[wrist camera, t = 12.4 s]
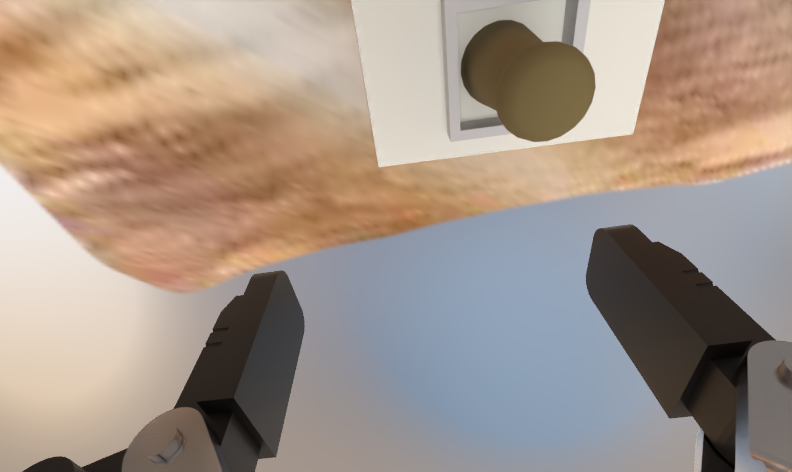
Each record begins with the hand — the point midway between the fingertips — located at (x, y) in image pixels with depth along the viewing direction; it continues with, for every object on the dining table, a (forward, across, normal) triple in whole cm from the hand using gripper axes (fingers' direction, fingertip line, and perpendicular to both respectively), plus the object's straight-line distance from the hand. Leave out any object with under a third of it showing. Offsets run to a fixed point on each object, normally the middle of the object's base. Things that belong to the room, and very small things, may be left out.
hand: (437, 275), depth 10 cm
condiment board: (+24, -8, 0) cm, 25 cm away
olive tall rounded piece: (+23, -8, 0) cm, 24 cm away
